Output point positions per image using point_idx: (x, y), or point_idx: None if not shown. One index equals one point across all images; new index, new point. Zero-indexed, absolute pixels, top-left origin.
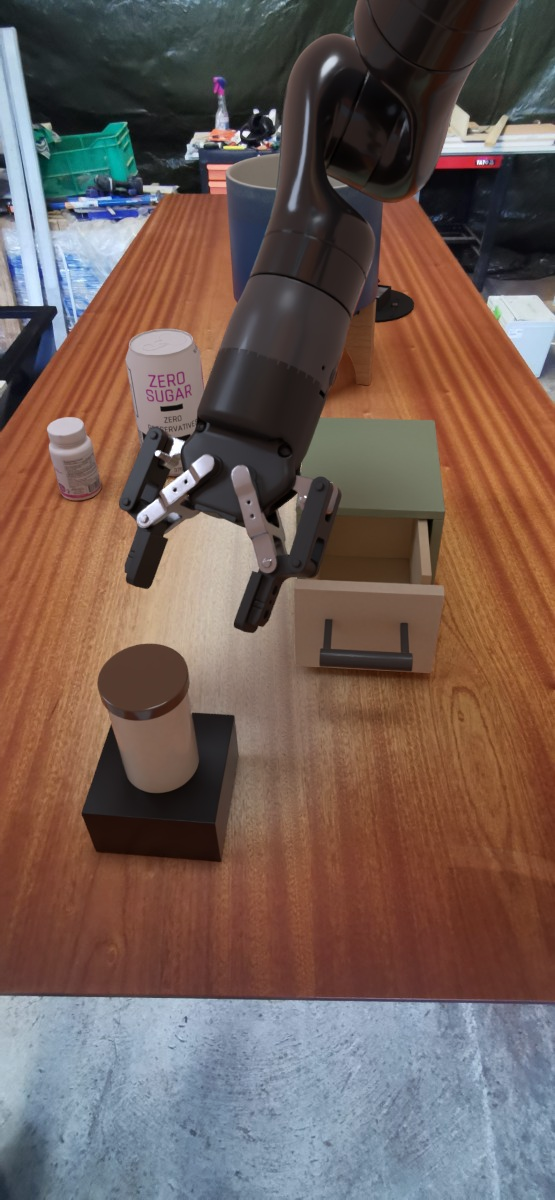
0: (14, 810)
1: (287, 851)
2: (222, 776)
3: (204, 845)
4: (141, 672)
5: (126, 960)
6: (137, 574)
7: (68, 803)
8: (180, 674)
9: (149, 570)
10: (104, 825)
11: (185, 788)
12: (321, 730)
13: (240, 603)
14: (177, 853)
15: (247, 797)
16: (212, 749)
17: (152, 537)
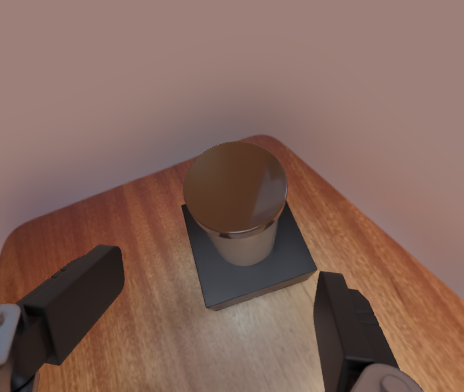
0: (344, 200)
1: (154, 247)
2: (190, 241)
3: None
4: (238, 186)
5: None
6: (323, 283)
7: (313, 219)
8: (194, 200)
9: (320, 322)
10: None
11: None
12: (155, 370)
13: (95, 264)
14: None
15: (194, 275)
16: (209, 262)
17: (339, 358)
